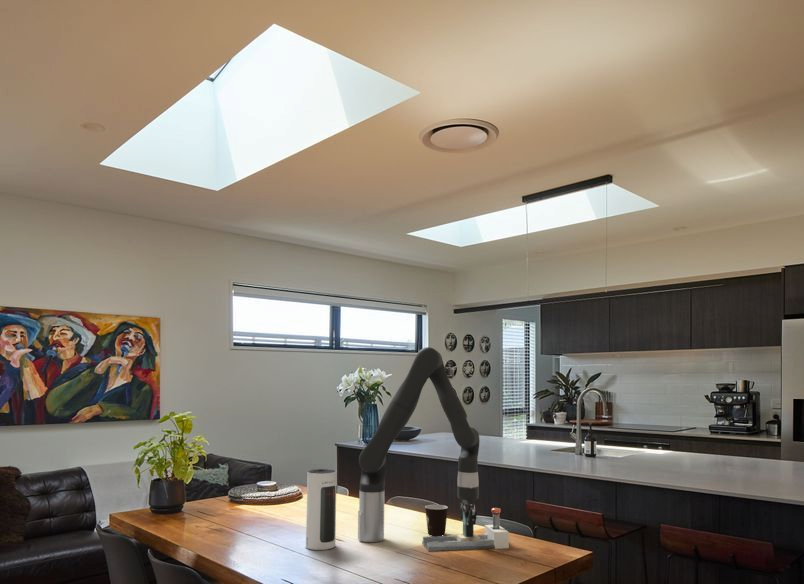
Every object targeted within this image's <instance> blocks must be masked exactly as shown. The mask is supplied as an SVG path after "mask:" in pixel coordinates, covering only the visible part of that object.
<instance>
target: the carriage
mask: <svg viewBox="0 0 804 584" xmlns="http://www.w3.org/2000/svg"><path fill="white" fill-rule="evenodd" d="M467 516H469V515H467ZM471 521H472V520H471ZM474 527H475V526H474V525H473V536H472V537H468V536H467V534H466V518H465V514H464V512H463V520H462V533H461V534H460V533H459V534H456V535H457V541H461V540H480V537H479V536H478V535H479V534H477V533H475V532H474Z"/></svg>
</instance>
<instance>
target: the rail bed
mask: <svg viewBox="0 0 804 584" xmlns="http://www.w3.org/2000/svg"><path fill="white" fill-rule="evenodd" d="M477 535H478V536H479V537H480V540H461V541H457V534H455V535H444V536H430V535H428V536H422V541H421V544H422V545H423V547H424V548H425V547H426V548H425V549H426V550H427V551H428V552H441V550H449V551H468V550H488V549H489V550H492V549H491V548H493V549H495V545H494V540H493V539H487V535H486V534H485V533H483V534H482V533H481V534H477Z"/></svg>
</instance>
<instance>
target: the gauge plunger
mask: <svg viewBox="0 0 804 584" xmlns="http://www.w3.org/2000/svg"><path fill="white" fill-rule="evenodd" d="M491 513H492V525H493V530H496V529H500V526H501V525H500V523H501V522H500V521H501V520H500V518H501V517H500V513H501V508H499V507H492V508H491Z"/></svg>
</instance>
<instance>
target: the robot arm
mask: <svg viewBox="0 0 804 584" xmlns="http://www.w3.org/2000/svg"><path fill="white" fill-rule="evenodd" d="M428 380H430V382H431V383H432V385H433V387H434V389H435V392H436V394H437V396H438V397H437V398H438V399H439V402H440V405H441V408H442V410H443V412H444V414H445V416H446V418H447V420H448V423H449V424H450V427H451V432H452V434H453V437H454V439H455V441H456V443H457V445H459V447H460V454H459V457H458V460H457V464H458V465H457V469H458V470H457V499H459V500H461V501H462V502H459V509H460V519H461V520H462V521H463V512H464V514H465V518H466V534H467V536H468V537H472V536H473V525H476V523H477V522H476V521H477V515H478V509H477V508H476V504H475V500H478V499H479V496H480V494H479V493H480V492H479V488H480V486H479V484H480V483H479V472H478V471H479V466H478V463H479V462H478V458H479V450H480V440H481V439H480V434H479V432H478V429H477V430H476V429H475V428H474V427H471V426H470V425H469V422H468V420H467V418H468V414H467V412H466V410H465V408H464V406H463V404H462V401H461V400H460V397H459V396H458V394H457V392H456V391H455V388H454V387H453V385H452V383H451V380H450V379H449V376H448V374H447V370H446V368H445V365H444V362H443V357H442V355H441V353H440V352H439V351H438V350H436V349H435V348H433V347H430V346H429V347H428V346H427V347H423V348H421V349H420V350H419V351H418V352H417V354H416V355H415V357H414V359H413V363H412V364H411V367H410V369H409V371H408V373H407V376H406V377H405V378H404V380H403V382H402V383H401V384H400V386H399V387H398V389H397V391H396V392H395V394H394V396H393V397H392V398H391V401H390V403H388V406H387V408H386V409H385V411H384V412H383V415H382V416H381V417H382V418H381V420H380V422H379V424H378V426H377V429H376V430H375V433H374V434H373V435H372V437H371V438H370V440H369V441H368V443H367V444H366V445H365V447H364V448H363V449H362V451H361V452H360V454H359V457H358V464H359V467H360V469H361V471H360V473H361V474H360V480H359V495H358V497H359V498H358V499H359V500H358V501H359V502H358V503H359V507H358V508H359V510H358V512H357V516H358V517H357V539H358V540H359V542H366V543H376V542H377V543H378V542H382V541H384V539H385V487H386V486H385V485H386V473H387V471H386V469H387V466H386V465H387V454H388V452H389V450H390V448H391V446H392V445H393V443H394V441H395V440H396V439H397V437H398V436H399V434H400V433H401V432H402V431H403V430H404V428H405V427H406V425H407V424H408V422H409V421H410V419H411V417H412V415H413V414H414V412H415V410H416V408H417V405H418V403H419V400H420V396H421V393H422V390H423V388H424V387H425V385H426V383H427V381H428ZM467 515H469V516H467ZM471 520H472V521H471Z"/></svg>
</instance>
